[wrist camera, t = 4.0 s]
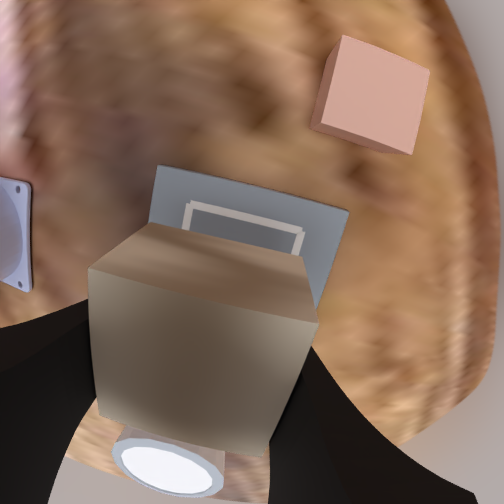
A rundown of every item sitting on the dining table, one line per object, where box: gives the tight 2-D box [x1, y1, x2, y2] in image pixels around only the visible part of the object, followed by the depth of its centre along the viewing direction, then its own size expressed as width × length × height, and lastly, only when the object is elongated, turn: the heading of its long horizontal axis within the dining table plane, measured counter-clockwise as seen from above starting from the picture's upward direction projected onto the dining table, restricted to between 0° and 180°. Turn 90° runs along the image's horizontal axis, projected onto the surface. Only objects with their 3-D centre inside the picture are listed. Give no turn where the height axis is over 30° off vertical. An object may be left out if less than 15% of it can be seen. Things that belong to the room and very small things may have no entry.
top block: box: [309, 35, 430, 155], centre depth 13 cm, size 4×4×4 cm
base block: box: [88, 222, 319, 457], centre depth 9 cm, size 5×5×4 cm
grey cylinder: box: [111, 425, 225, 498], centre depth 18 cm, size 7×7×7 cm
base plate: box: [148, 165, 349, 309], centre depth 17 cm, size 10×9×1 cm
